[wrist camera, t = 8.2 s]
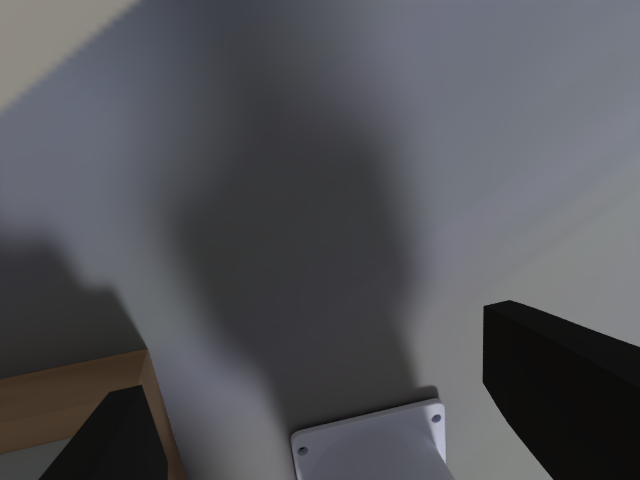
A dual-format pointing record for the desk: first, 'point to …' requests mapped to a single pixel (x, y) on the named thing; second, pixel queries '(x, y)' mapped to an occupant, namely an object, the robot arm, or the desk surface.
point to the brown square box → (78, 402)
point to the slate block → (30, 461)
